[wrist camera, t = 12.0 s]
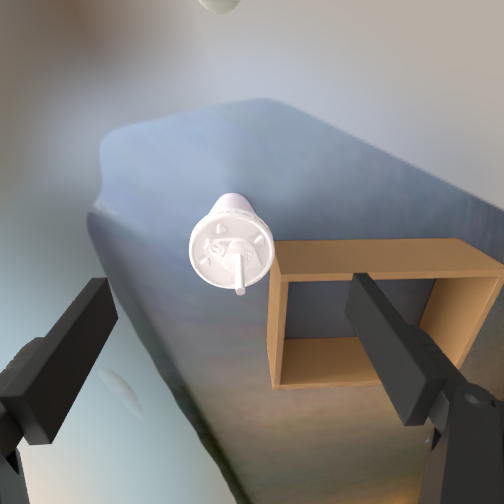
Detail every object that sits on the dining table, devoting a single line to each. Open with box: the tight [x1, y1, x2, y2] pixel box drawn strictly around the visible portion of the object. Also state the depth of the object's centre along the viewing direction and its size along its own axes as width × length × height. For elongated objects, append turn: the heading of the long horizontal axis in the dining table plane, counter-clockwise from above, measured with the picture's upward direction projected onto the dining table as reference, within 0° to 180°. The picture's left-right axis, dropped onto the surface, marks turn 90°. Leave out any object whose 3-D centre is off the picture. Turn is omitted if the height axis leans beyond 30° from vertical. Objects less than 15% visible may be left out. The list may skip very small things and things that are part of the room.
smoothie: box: [189, 193, 275, 295], centre depth 23 cm, size 6×6×14 cm
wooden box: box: [266, 238, 504, 390], centre depth 32 cm, size 16×22×7 cm
